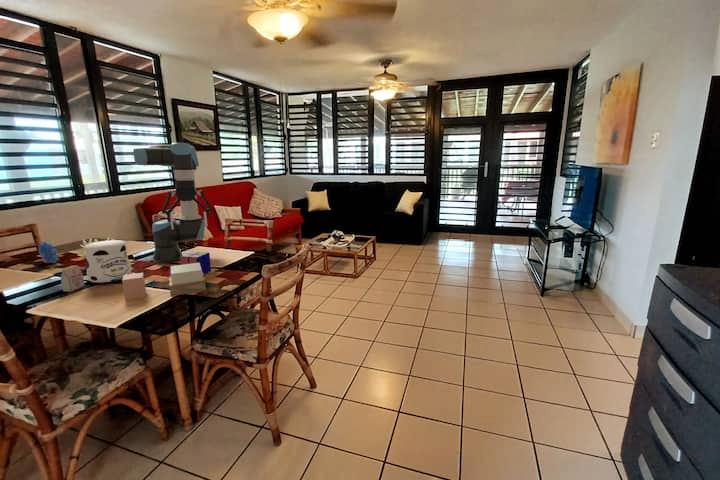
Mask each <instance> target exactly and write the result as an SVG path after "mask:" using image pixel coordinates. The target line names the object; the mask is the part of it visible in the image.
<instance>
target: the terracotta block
mask: <svg viewBox="0 0 720 480" xmlns="http://www.w3.org/2000/svg"><path fill="white" fill-rule="evenodd" d="M121 282H122V287H123V294H124V299H125V301H131V300H138V299H142V298H143V299H144V298H146V296H145V295H146V294H147V288H146V282H145V275H144V272H136V273H131V274H128V275H124V276H123V279H122V280H121Z"/></svg>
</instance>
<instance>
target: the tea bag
mask: <svg viewBox="0 0 720 480" xmlns="http://www.w3.org/2000/svg"><path fill="white" fill-rule="evenodd" d="M60 281H61V286H62V287H61V288H62V292H66V293H67V292H69V293H70V292H75V291H76V290H79V289H82V288H84V287H85V286H86V285H85V280H84V274H83V273H82V271H81V269H80V268H79V266H78V265H73V266H71V267H68V268H67V267H66V268H65V269H62V272H61V275H60Z"/></svg>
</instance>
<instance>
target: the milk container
mask: <svg viewBox="0 0 720 480" xmlns="http://www.w3.org/2000/svg"><path fill="white" fill-rule="evenodd" d="M84 252H85V257H86V258H85V259H86V262H87V269H86V276H87V278H88V280H89V281H90V282H91V283H94V284H102V285H103V284H111V283H117V282H122V279H123V276H124V275H128V274H133V273H132V264H131V262H130V261H129V258H128V256H129V255H128V250H127V246H126V242H125V241H124V240H120V239H119V240H118V239H114V240H113V239H112V240H100V241H95V242H90V243H88V244H86V245H85V246H84Z"/></svg>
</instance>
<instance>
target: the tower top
mask: <svg viewBox="0 0 720 480" xmlns="http://www.w3.org/2000/svg"><path fill="white" fill-rule="evenodd" d="M170 276H171V279H172V285H175V284H182V283H189V282H196V281H203V279H202V270H201V266H200V263H193V264H185V265H181V264H177V265H176V264H175V265H171V266H170Z"/></svg>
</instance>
